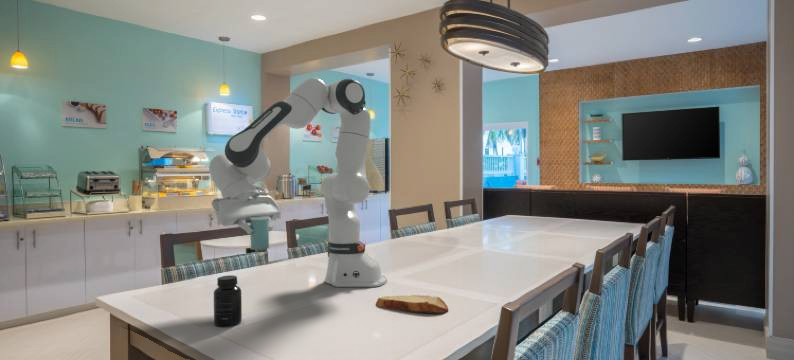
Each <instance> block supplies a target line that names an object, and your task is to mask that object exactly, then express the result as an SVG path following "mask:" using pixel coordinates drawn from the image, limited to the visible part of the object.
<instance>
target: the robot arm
mask: <svg viewBox="0 0 794 360" xmlns="http://www.w3.org/2000/svg"><path fill="white" fill-rule="evenodd" d="M365 107H366V92H365V88H364V87H363V85H362V83H361V82H360V81H358V80H357V79H354V78H344V79H339V80H337V81H333V82H331V83H329V84H326V83H325V82H324V81H323V80H322V79H320V78H318V77H315V76H312V77H308V78H307V79H305V80H304V81H302V82H301V83H300V84H299V85H297V87H296V88H294V89H293V91H292V92H290V94H288V96H287V97H286V98H285V99H284V100H281V101H277V102H276V103H274V104H272V105H271V106H269V107H268V108H267V109H266V110H264V112H263V113H261V114H260V115H259V116H258V117H257V118H256V119H255V120H253V121H252V122H251V123H250V124H249V125H248V126H247V127H246V128H244V129H242V130H241V131H239V132H238V133H236V134H234V135H232V136H231V137H230V138H229V139H228V141H227V142H226V144H225V146H224V153H219V154H217V155H216V156H214V157H213V158H212V159H211V160H210V162H209V165H208V171H209V174H210V177H211V179H212V181H213V183H214V186H215V187H216V188H217V189H218V191H220V192H221V193H220V195H221V198H218V197H217V198H214V199H213V200H212V201H211V206H212V208H213V209H214V212H215V216H216V217H217V220H218V223H219V224H220V225H222V226H223V227H228V226H237V225H238V227H240V228H241V229H242V230H244V231H245V232H246V234H247V235H250V234H253V232H254V231H255V230H254V228H253V226H250V217H253V216H269V232H271V231H273V229H274V227H273V225H272V221H277V220H278V219H279V217H280V216H281V214H282V211H281V210H282V209H281V207H280V206H279V205H278V203H277V202H276V200H275V199H274V198H273V197H272V196H271V195H269V193H270V192H269V190H268V189H267V188H264V187H260V186H256V185H254V184H255V183H257V182H259V181H262V180H263V179H265V178H266V177H267V176H268V175H269V174H270V173H271V168H272V163H271V160H270V159H269V158H268V157H269V156H268V155H267V154H266V153H265V151H264V149H262V143H263V141H264V140H265V139H266V138H267V137H269V136H270V135H271V134H272V133H273V132H274V131H275V130H276V129H277V128H279V127H280V126H282V125H285V126H287V127H289V128H291V129H296V130H297V129H304V128H305V127H307V126H308V125H309V124H310V123H311V122H313V120H314V119H315V117H316V116H317V115H318V114H319V112H320V111H321V110H322V111H323V112H324V113H327V114H333V115H335V114H339V116H340V127H339V132H338V136H337V141H336V142H337V143H336V147H335V153H334V154H335V157H336V162H337V172H335V173H332V174H329V175H327V176H326V177H324V178H323V180H322V181H321V184H320V192H321V194H322V195H323V196H322V197H323V198H324V202H325V206H326V213H327V217H328V242H327V249H326V250H327V258H328V259H327V260H328V262H327V268H326V274H325V278H324V282H325V283H326V284H330V285H332V287H336V288H337V287H338V288H339V287H341V288H343V287H345V288H348V287H349V288H350V287H351V288H353V287H354V288H355V287H356V288H357V287H360V288H361V287H363V288H365V287H367V288H369V287H370V288H373V287H374V288H375V287H380V286H383V285H384V284H386V283H387V282H388V276H386V275H384V274H383V275H382V271H381V266H380V263H379V262H378V261H377V260H376V259H374V258H373V257H372V256H370V255H369V254H368V253H367V252H366V243H364V242H362V241H361V240H360V239H361V238H360V237H361V235H360V233H361V231H360V230H361V229H360V224H361V223H360V222H361V221H360V217H359V216H358V214H357V211H356V207H355V205H356V204H360V203H362V202H364V201H365V200H366V199H367V198H369V195H370V191H371V186H370V183H369V180H368V179H367V169H366V166H367V165H366V160H367V159H366V158H367V152H368V147H369V146H368V145H369V141H370V140H369V139H370V134H371V113H370V111H369V110H368V109H367V108H365Z"/></svg>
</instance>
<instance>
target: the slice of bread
mask: <svg viewBox="0 0 794 360" xmlns="http://www.w3.org/2000/svg"><path fill="white" fill-rule="evenodd" d="M375 306H376V307H378V308H384V309H390V310H395V311H401V312H409V313H416V314H419V313H420V314H431V313H432V314H434V315H437V313H442V314H446V312H447V313H449V308H448V305H447V304H446V302H445V301H444V300H443V299H442V298H441V297H439V296H432V295H431V296H430V295H418V294H417V295H415V294H414V295H413V294H412V295H407V294H405V295H391V296H390V295H389V296H382V297H378V298H377V301H376V302H375Z"/></svg>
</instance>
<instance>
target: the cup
mask: <svg viewBox="0 0 794 360" xmlns="http://www.w3.org/2000/svg"><path fill="white" fill-rule="evenodd" d="M249 226H253V228H254V230H255V231H254V232H253V234H249V236H250V250H253V251H262V250H263V251H264V250H268V249H270V231H269V216H253V217H250V223H249Z"/></svg>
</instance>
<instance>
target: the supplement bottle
mask: <svg viewBox="0 0 794 360" xmlns="http://www.w3.org/2000/svg"><path fill="white" fill-rule="evenodd" d="M216 282H217V284H216V286H217V287H216V288H215V289H214V291H213V323H214V325H215V326H216V327H219V328H229V327H233V326H234V327H235V326H236V325H239V324H240V323H241V322H242V320H243V317H242V315H243V313H242V311H243V310H242V307H243V306H242V289H241V287H240V286H238V276H237V275H223V276H219V277H217V281H216Z"/></svg>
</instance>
